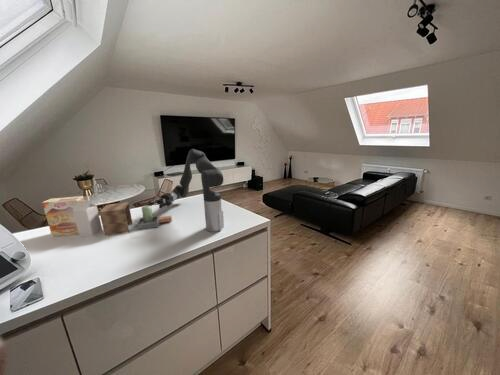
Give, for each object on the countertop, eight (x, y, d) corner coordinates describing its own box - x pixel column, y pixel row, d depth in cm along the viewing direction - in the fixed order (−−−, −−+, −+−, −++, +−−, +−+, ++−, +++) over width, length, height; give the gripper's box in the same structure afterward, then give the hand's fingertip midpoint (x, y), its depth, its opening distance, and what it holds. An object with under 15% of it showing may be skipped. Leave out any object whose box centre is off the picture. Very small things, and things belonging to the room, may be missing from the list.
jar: (155, 221, 119) (153, 205, 117) (150, 224, 115) (147, 208, 112) (147, 220, 120) (145, 205, 118) (142, 224, 116) (139, 208, 113)
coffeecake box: (51, 237, 105) (40, 202, 100) (60, 231, 112) (50, 198, 106) (85, 233, 109) (76, 199, 104) (91, 227, 115) (83, 195, 110)
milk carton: (92, 237, 104) (84, 203, 99) (79, 237, 105) (70, 203, 100) (102, 230, 111) (95, 198, 106) (90, 230, 111) (82, 198, 106)
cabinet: (132, 223, 120) (128, 202, 116) (128, 232, 109) (124, 209, 105) (111, 226, 116) (106, 204, 113) (104, 236, 105) (99, 212, 102)
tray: (171, 217, 127) (171, 212, 127) (171, 224, 117) (171, 220, 116) (140, 222, 121) (139, 217, 120) (137, 230, 111) (136, 225, 110)
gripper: (158, 192, 137) (142, 199, 121) (177, 193, 134) (163, 201, 119) (160, 202, 139) (144, 211, 123) (178, 203, 136) (164, 212, 121)
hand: (153, 206), depth 121 cm, fingers open, 8 cm apart
